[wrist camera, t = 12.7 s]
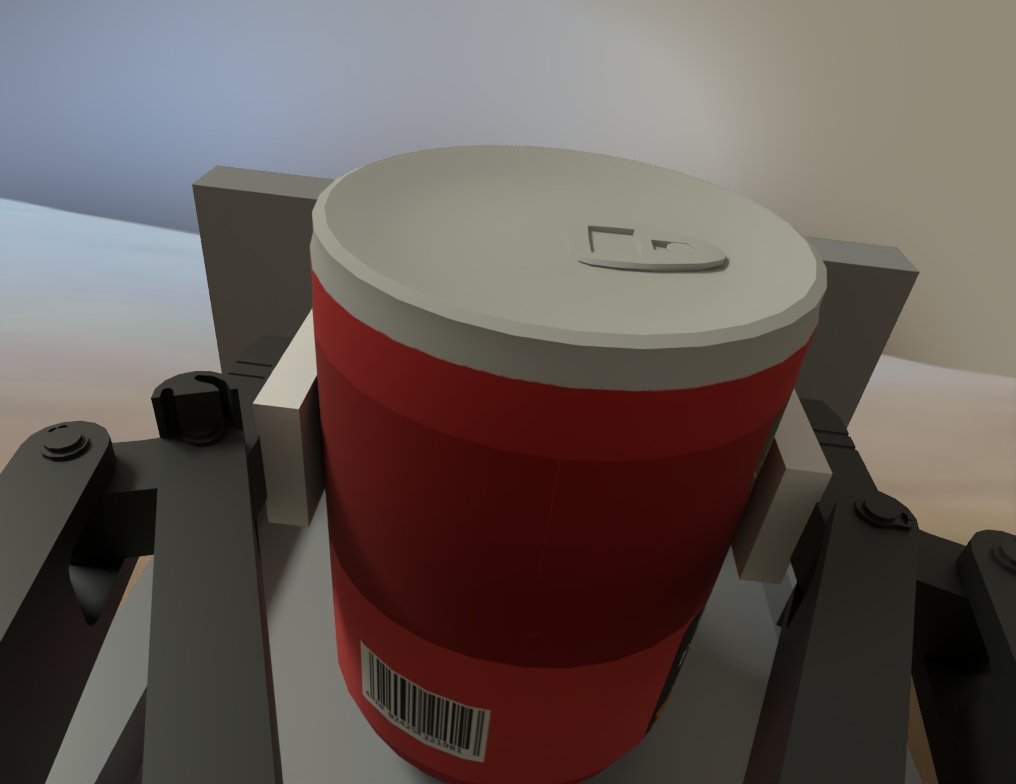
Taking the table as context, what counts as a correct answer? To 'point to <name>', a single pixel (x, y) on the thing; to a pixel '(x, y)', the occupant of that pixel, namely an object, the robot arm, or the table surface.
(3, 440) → the table surface
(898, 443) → the table surface
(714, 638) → the tray with upright backboard
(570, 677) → the canned food
